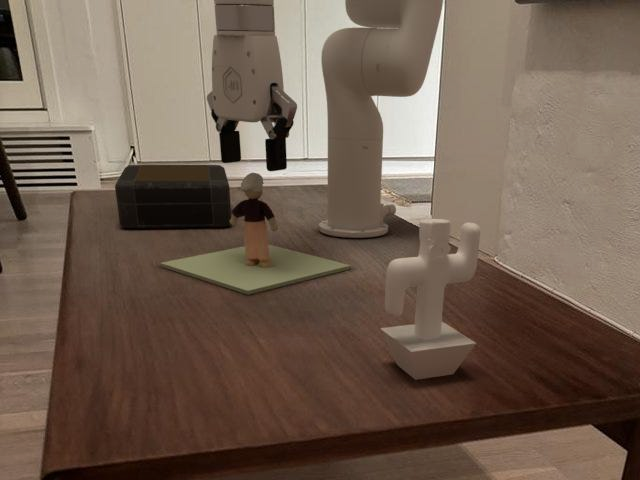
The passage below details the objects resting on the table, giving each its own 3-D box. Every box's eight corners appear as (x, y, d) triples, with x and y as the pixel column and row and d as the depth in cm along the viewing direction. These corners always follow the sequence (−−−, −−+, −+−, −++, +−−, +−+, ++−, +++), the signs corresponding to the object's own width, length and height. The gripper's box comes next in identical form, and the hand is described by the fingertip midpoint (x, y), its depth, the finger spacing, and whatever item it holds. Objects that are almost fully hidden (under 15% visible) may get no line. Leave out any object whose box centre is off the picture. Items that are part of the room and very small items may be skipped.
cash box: (126, 204, 151) (121, 164, 147) (226, 203, 155) (224, 164, 151) (116, 230, 130) (109, 183, 126) (232, 228, 134) (229, 183, 130)
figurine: (369, 363, 78) (374, 214, 70) (447, 352, 81) (460, 209, 73) (398, 388, 72) (407, 229, 64) (482, 376, 75) (499, 223, 68)
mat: (262, 246, 122) (262, 242, 122) (350, 269, 111) (350, 265, 111) (160, 266, 109) (160, 262, 109) (248, 295, 98) (247, 290, 98)
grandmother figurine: (284, 262, 111) (282, 172, 105) (277, 269, 108) (274, 176, 101) (235, 259, 112) (230, 169, 106) (227, 265, 109) (221, 173, 102)
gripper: (180, 22, 97) (194, 161, 106) (268, 22, 87) (274, 176, 96) (225, 22, 102) (235, 156, 111) (313, 23, 92) (315, 170, 101)
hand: (253, 165), depth 103 cm, fingers open, 9 cm apart
